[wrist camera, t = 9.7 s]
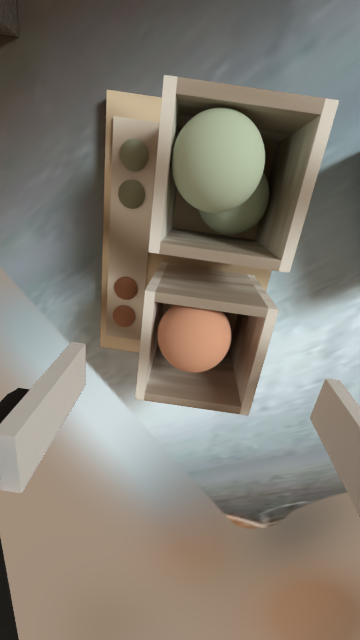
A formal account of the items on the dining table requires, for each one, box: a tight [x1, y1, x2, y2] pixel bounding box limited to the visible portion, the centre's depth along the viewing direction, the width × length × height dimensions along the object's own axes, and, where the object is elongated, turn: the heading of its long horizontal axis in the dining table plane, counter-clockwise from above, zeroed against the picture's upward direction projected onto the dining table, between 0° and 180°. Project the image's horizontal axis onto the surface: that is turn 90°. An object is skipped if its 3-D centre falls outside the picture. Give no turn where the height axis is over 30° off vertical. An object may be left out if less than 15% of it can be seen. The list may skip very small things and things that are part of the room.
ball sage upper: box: [171, 107, 265, 213], centre depth 15 cm, size 5×5×5 cm
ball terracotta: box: [157, 305, 231, 373], centre depth 19 cm, size 5×5×5 cm
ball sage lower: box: [198, 173, 269, 235], centre depth 20 cm, size 5×5×5 cm
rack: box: [100, 75, 339, 415], centre depth 21 cm, size 20×14×9 cm
